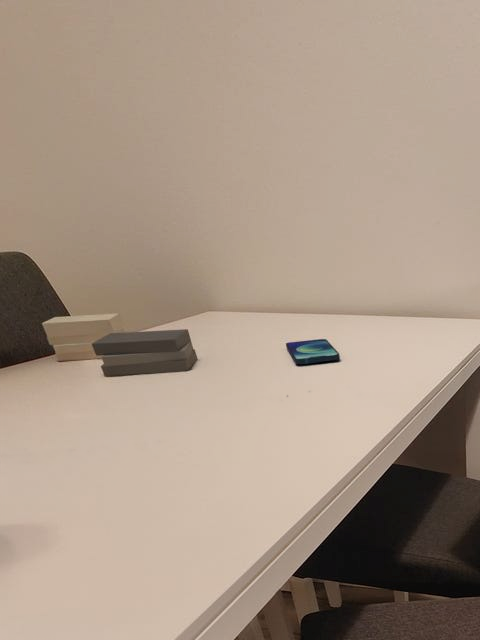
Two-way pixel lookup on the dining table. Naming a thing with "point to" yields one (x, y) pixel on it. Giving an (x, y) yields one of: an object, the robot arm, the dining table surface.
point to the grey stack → (145, 352)
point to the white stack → (76, 346)
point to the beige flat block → (83, 325)
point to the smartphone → (312, 351)
